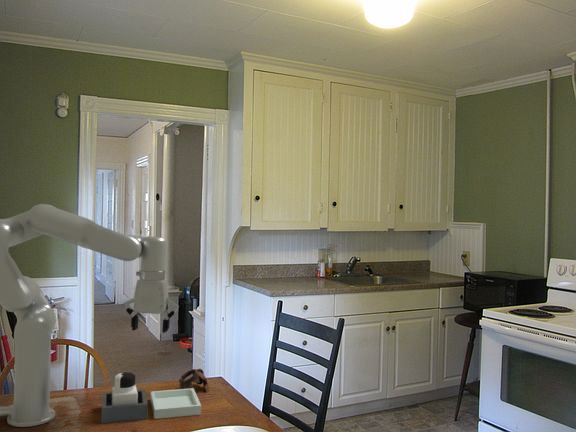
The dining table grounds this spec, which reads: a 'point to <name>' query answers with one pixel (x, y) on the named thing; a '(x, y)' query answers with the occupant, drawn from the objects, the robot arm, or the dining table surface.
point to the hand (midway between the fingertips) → (150, 330)
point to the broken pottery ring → (194, 379)
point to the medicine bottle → (124, 389)
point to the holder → (124, 409)
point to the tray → (175, 403)
